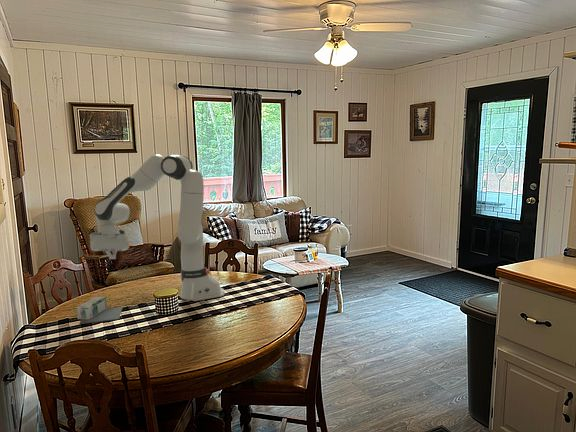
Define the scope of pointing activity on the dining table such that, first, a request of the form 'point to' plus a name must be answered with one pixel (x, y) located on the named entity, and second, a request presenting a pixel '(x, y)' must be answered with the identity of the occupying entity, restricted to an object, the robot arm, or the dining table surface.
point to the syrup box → (91, 308)
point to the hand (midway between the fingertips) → (112, 258)
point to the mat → (104, 316)
